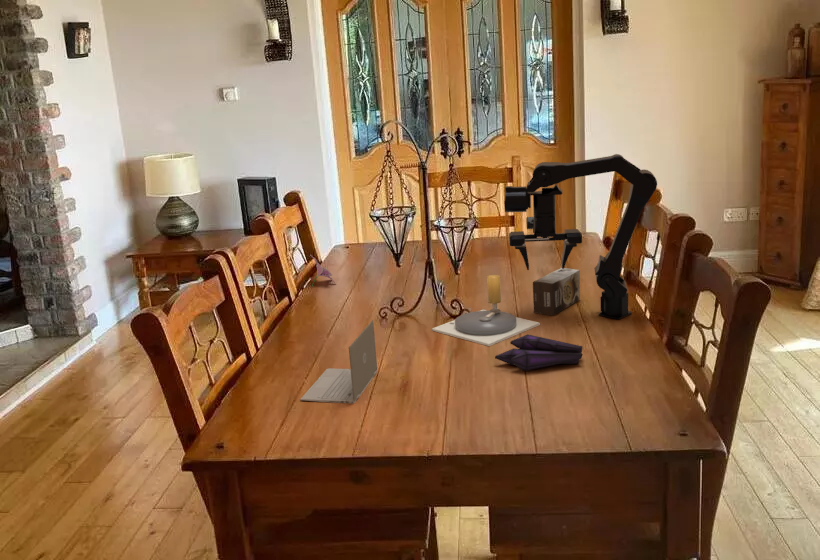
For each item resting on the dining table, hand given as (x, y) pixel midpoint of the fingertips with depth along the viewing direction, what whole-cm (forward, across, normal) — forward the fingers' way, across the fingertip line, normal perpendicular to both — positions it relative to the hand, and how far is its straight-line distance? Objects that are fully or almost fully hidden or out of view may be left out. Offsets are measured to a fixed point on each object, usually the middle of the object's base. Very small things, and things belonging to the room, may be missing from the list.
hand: (545, 269), depth 220 cm
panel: (+13, +16, +8) cm, 23 cm away
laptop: (+14, +50, +44) cm, 68 cm away
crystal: (+13, +5, +36) cm, 38 cm away
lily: (+14, +68, -43) cm, 82 cm away
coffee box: (+8, -8, -14) cm, 19 cm away
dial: (+13, +16, +8) cm, 23 cm away
